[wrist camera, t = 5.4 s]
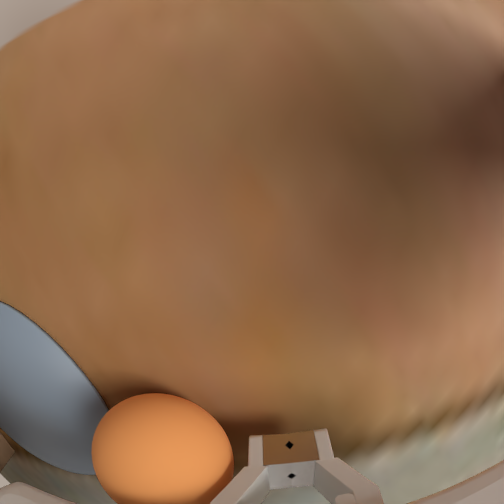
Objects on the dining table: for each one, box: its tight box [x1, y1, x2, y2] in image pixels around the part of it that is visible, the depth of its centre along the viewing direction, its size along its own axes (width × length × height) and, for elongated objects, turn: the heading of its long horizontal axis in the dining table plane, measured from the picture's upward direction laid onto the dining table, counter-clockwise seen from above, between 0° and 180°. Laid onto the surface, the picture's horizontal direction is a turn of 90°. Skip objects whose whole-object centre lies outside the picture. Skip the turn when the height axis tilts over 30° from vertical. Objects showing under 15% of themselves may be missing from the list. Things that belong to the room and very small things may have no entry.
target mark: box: [0, 301, 109, 475], centre depth 12 cm, size 13×13×1 cm
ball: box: [91, 393, 234, 504], centre depth 9 cm, size 6×6×6 cm
